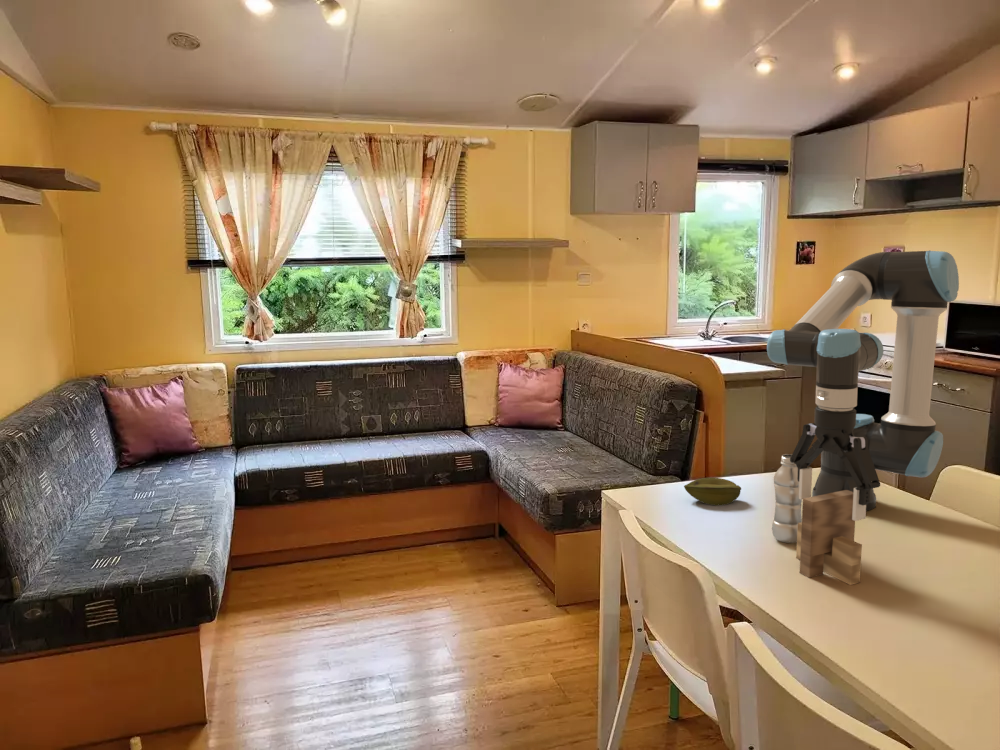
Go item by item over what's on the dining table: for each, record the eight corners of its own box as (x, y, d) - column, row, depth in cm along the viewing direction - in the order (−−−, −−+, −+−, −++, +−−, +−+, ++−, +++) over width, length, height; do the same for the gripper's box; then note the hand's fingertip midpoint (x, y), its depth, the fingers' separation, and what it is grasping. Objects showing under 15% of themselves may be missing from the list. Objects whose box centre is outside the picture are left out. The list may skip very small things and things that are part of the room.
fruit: (723, 512, 181) (724, 487, 179) (682, 502, 189) (682, 478, 188) (744, 501, 188) (745, 477, 187) (703, 491, 197) (704, 468, 196)
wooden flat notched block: (842, 562, 150) (846, 489, 148) (852, 566, 148) (856, 493, 145) (799, 572, 146) (802, 498, 143) (809, 577, 143) (812, 502, 141)
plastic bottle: (805, 547, 158) (809, 460, 155) (773, 545, 159) (777, 460, 156) (799, 536, 164) (803, 452, 161) (768, 534, 166) (772, 452, 162)
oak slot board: (804, 556, 154) (806, 521, 152) (859, 582, 141) (861, 544, 139) (796, 558, 153) (797, 522, 151) (850, 585, 140) (852, 546, 139)
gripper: (774, 398, 151) (771, 492, 155) (876, 422, 128) (869, 532, 132) (801, 394, 154) (797, 487, 158) (905, 417, 131) (898, 525, 135)
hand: (830, 508), depth 145 cm, fingers open, 13 cm apart
